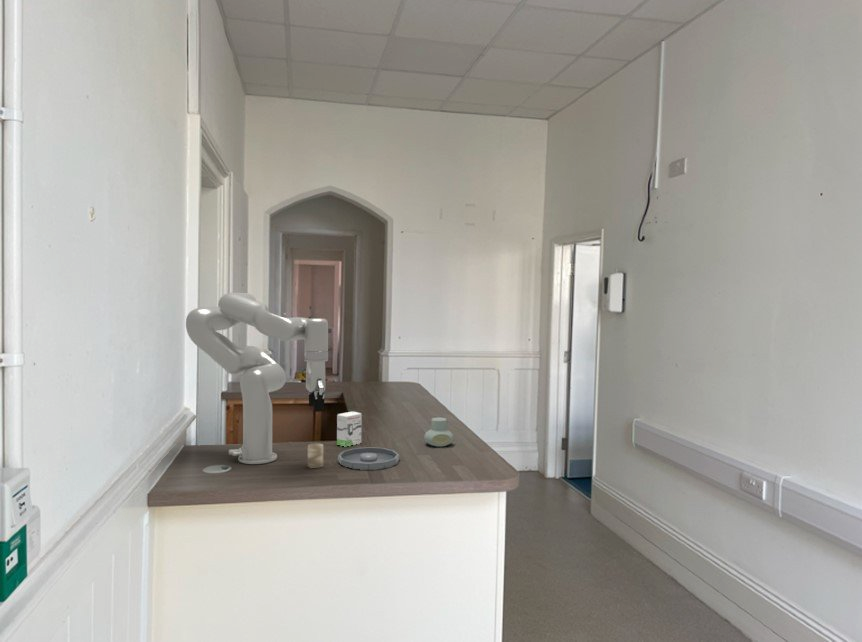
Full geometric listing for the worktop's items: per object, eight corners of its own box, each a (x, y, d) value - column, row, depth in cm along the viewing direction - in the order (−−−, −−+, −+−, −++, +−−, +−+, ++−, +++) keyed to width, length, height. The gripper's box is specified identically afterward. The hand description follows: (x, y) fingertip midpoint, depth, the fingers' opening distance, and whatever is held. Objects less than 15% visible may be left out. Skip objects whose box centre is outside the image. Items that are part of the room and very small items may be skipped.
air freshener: (426, 448, 216) (427, 421, 216) (422, 442, 225) (422, 417, 224) (455, 447, 219) (455, 420, 218) (450, 441, 227) (450, 416, 226)
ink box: (345, 447, 215) (345, 416, 215) (336, 445, 218) (336, 414, 218) (361, 443, 222) (362, 412, 222) (352, 441, 225) (352, 411, 225)
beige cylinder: (309, 469, 188) (309, 447, 188) (306, 465, 193) (306, 444, 193) (324, 467, 190) (324, 446, 190) (321, 463, 195) (321, 442, 195)
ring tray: (346, 472, 185) (346, 465, 185) (333, 456, 204) (333, 450, 204) (406, 466, 193) (406, 460, 192) (388, 451, 211) (388, 445, 211)
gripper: (300, 354, 197) (300, 404, 197) (309, 359, 181) (309, 414, 181) (322, 353, 199) (322, 403, 200) (333, 358, 183) (333, 412, 184)
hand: (316, 408), depth 191 cm, fingers open, 9 cm apart
